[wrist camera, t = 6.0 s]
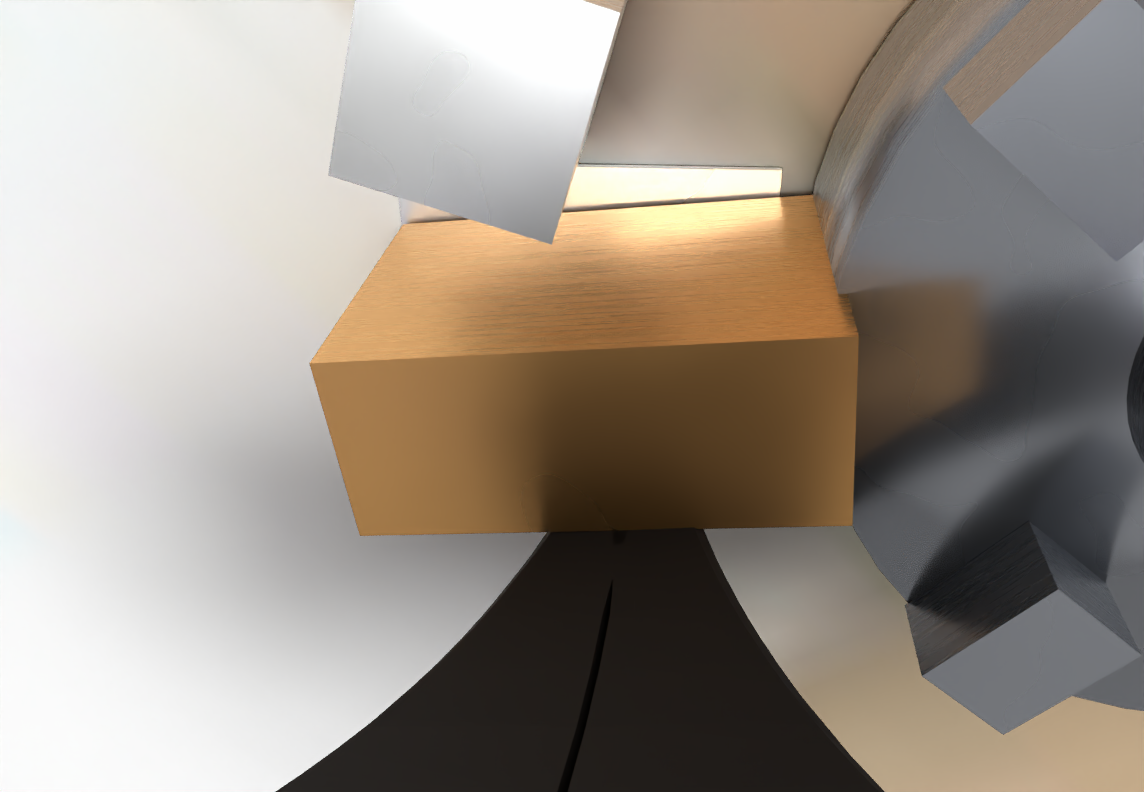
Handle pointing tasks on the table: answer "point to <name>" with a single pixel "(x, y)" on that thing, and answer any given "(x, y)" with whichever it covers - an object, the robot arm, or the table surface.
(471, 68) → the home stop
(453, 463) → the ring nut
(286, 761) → the table surface
